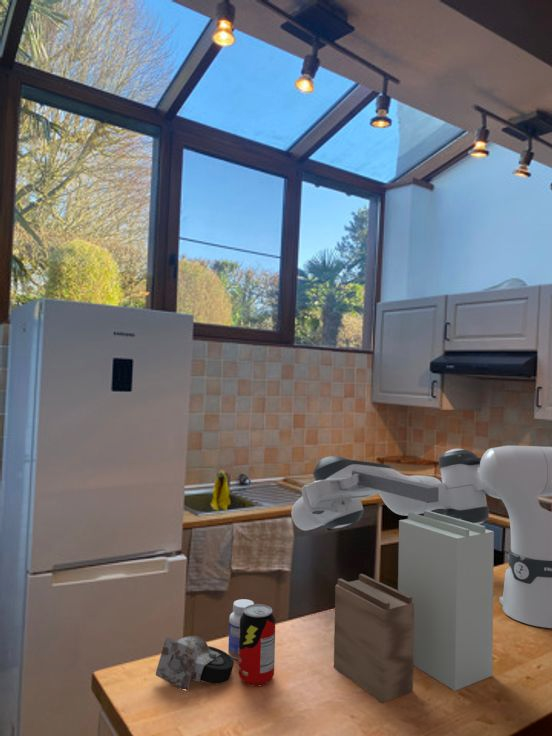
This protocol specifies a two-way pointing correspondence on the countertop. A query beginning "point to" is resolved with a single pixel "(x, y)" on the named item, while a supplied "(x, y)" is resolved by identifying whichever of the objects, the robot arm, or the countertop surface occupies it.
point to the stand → (449, 595)
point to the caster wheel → (193, 662)
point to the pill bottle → (236, 626)
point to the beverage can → (257, 645)
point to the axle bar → (398, 486)
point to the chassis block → (374, 637)
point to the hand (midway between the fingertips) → (366, 476)
